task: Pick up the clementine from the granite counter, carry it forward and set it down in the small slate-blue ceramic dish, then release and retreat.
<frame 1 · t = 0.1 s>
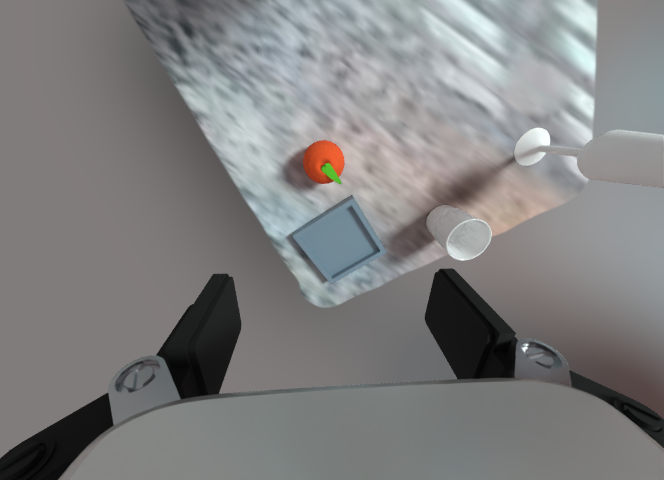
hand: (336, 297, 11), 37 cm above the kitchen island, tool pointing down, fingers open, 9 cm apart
white cup: (441, 219, 51), on the kitchen island
dish: (340, 240, 52), on the kitchen island
clementine: (324, 161, 45), on the kitchen island
champagne flute: (531, 147, 46), on the kitchen island
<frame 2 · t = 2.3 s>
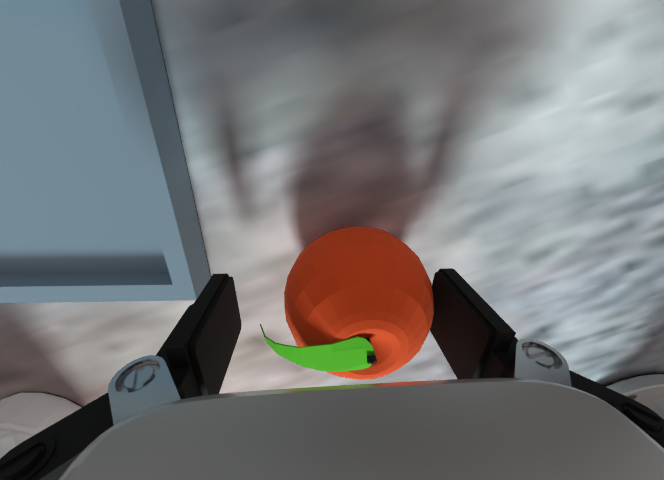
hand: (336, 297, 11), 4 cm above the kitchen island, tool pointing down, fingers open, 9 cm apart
white cup: (52, 415, 20), on the kitchen island
dish: (34, 157, 12), on the kitchen island
clementine: (340, 261, 15), on the kitchen island, touching gripper
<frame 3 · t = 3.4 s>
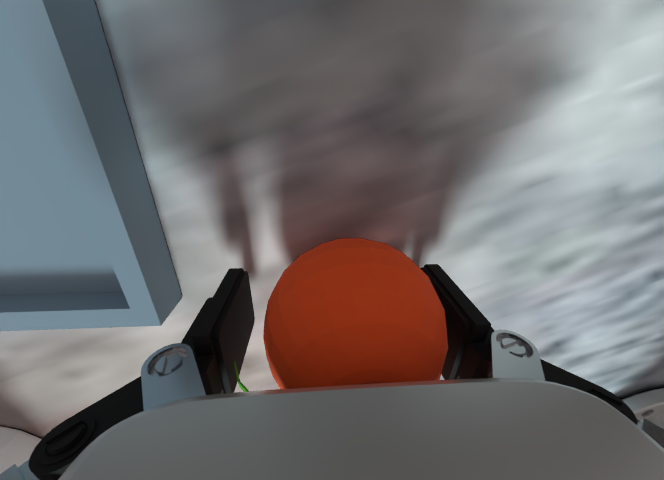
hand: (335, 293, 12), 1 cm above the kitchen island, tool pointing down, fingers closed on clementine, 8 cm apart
white cup: (8, 447, 18), on the kitchen island
clementine: (333, 275, 13), on the kitchen island, touching gripper
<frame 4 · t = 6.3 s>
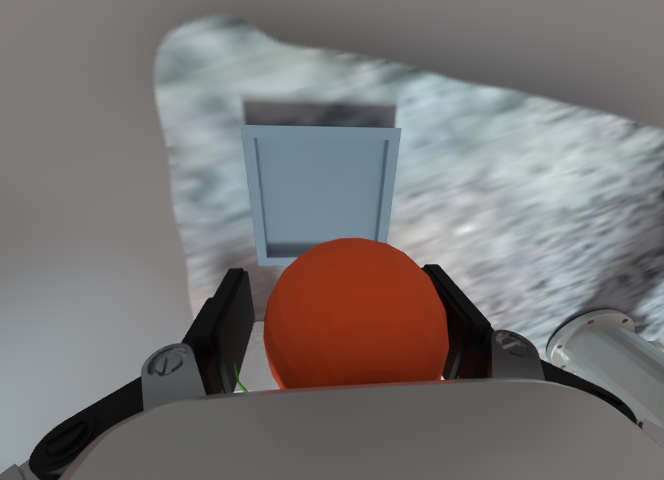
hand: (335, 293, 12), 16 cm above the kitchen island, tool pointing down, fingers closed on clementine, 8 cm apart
white cup: (264, 337, 34), on the kitchen island
dish: (321, 198, 26), on the kitchen island
clementine: (333, 274, 13), point 15 cm above the kitchen island, touching gripper
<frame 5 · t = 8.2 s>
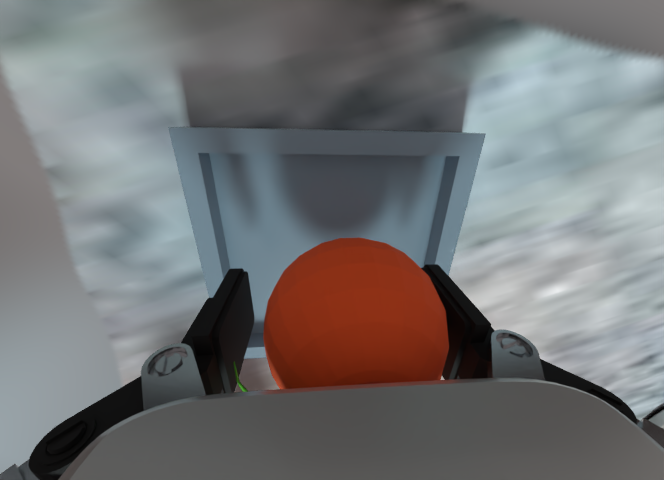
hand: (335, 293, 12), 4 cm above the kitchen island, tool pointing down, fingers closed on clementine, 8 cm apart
dish: (329, 250, 16), on the kitchen island
clementine: (333, 274, 13), point 3 cm above the kitchen island, touching gripper
when the fingers open (3 cm above the kitchen island, at t = 9.6 s): clementine stays where it is, resting on dish.
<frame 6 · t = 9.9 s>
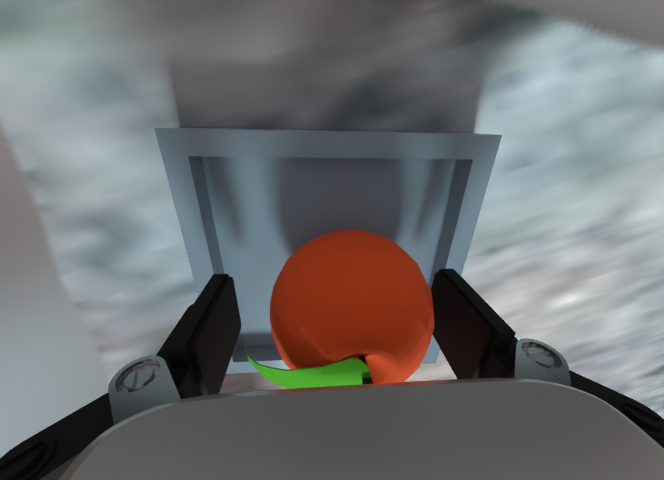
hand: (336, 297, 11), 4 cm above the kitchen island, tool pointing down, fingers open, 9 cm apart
dish: (330, 258, 15), on the kitchen island
clementine: (331, 265, 14), point 1 cm above the kitchen island, touching dish
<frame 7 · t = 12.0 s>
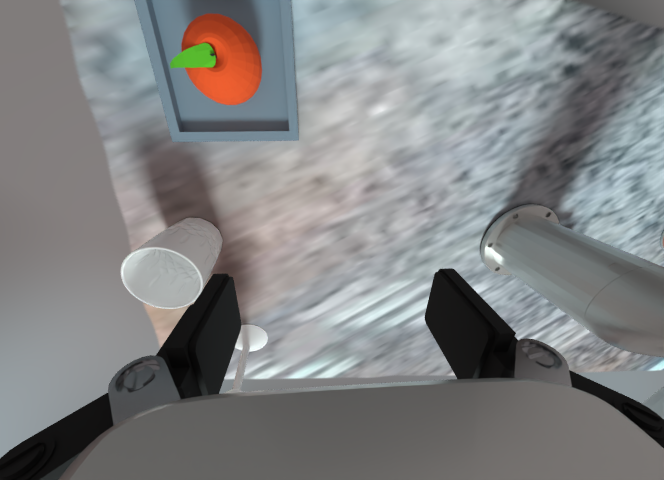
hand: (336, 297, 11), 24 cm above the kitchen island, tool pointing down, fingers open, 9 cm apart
white cup: (198, 238, 35), on the kitchen island
dish: (230, 70, 27), on the kitchen island
clementine: (228, 71, 26), point 1 cm above the kitchen island, touching dish
champagne flute: (248, 337, 44), on the kitchen island
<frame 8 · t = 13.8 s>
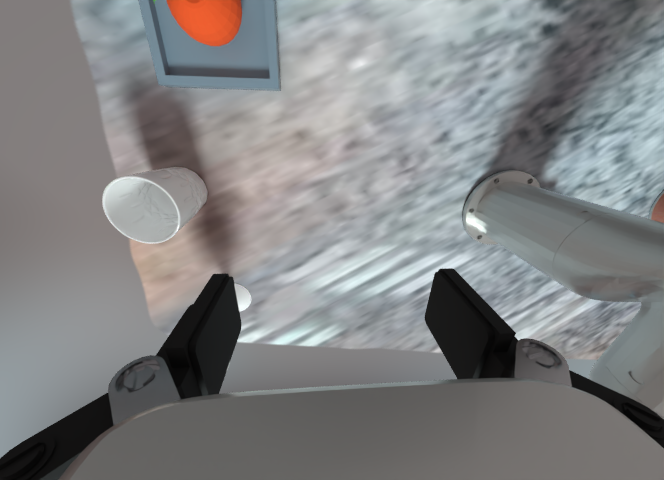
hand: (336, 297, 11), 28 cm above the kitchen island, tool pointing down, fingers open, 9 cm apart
white cup: (184, 189, 37), on the kitchen island
dish: (215, 18, 28), on the kitchen island
clementine: (213, 17, 28), point 1 cm above the kitchen island, touching dish
champagne flute: (232, 297, 45), on the kitchen island
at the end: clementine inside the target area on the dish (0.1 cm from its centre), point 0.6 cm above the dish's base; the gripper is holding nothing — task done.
